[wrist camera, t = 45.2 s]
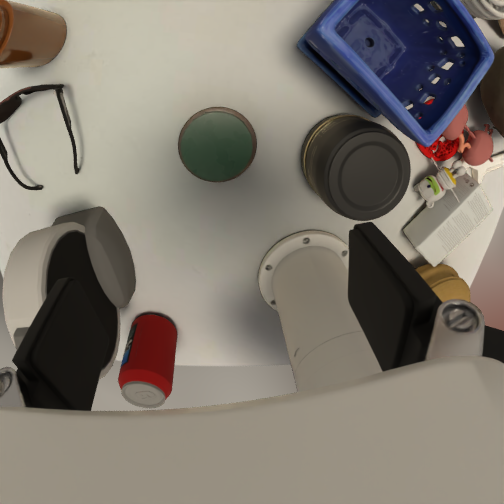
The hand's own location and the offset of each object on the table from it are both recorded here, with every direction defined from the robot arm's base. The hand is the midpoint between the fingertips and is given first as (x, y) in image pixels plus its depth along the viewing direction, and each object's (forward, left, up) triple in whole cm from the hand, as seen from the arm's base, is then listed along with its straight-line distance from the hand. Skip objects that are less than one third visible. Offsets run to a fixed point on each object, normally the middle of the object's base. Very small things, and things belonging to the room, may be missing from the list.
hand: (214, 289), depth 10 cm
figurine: (+2, -33, -23) cm, 40 cm away
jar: (-3, -13, -16) cm, 21 cm away
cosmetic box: (-8, -32, -20) cm, 39 cm away
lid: (0, 0, -22) cm, 22 cm away
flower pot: (+9, -17, -24) cm, 31 cm away
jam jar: (+18, +17, -24) cm, 34 cm away
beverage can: (-23, +14, -24) cm, 36 cm away
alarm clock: (-10, +18, -24) cm, 32 cm away
